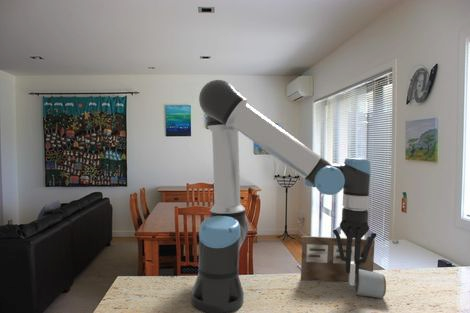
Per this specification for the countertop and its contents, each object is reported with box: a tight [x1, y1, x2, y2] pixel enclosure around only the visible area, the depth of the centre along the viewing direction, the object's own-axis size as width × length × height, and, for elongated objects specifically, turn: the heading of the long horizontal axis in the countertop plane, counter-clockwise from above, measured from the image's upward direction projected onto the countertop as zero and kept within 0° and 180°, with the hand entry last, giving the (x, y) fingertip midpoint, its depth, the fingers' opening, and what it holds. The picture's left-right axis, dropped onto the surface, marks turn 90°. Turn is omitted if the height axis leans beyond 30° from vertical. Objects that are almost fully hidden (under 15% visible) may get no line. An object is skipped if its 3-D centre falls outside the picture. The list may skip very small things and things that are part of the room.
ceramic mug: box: [354, 269, 387, 299], centre depth 100 cm, size 11×8×8 cm
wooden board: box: [300, 235, 376, 283], centre depth 107 cm, size 24×1×15 cm, turn 88°
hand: (351, 283), depth 98 cm, fingers closed
